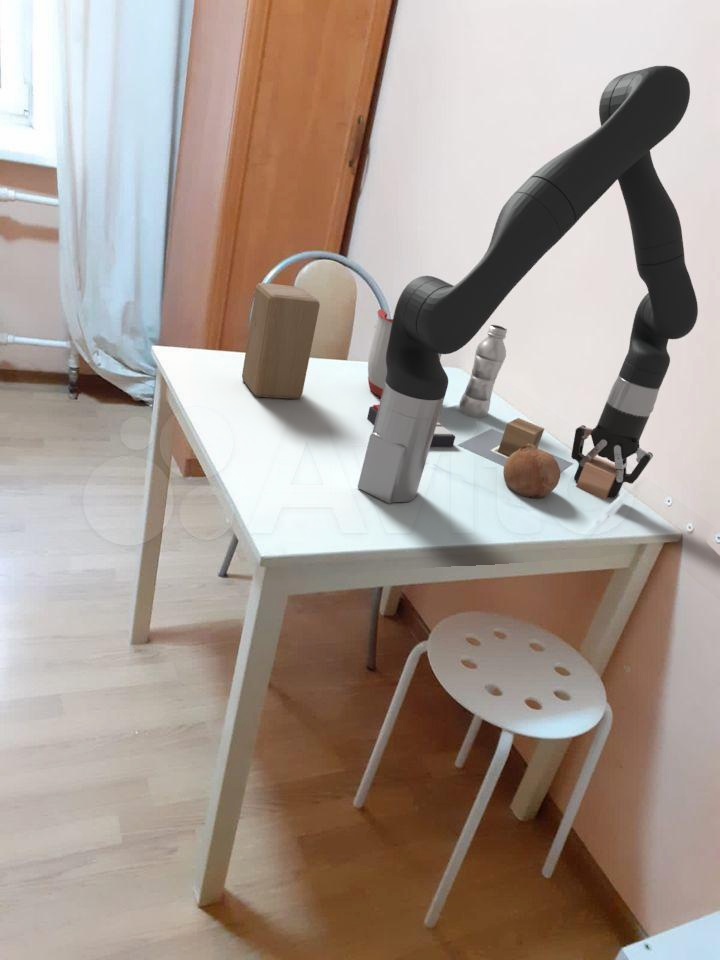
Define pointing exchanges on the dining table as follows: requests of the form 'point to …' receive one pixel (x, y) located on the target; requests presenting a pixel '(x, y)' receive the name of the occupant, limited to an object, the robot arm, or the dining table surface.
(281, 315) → the wooden block
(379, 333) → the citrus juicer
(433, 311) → the robot arm
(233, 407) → the dining table surface
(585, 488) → the terracotta block
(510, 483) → the onion
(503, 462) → the grey flat plate
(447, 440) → the calculator
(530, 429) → the walnut block
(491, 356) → the plastic bottle
